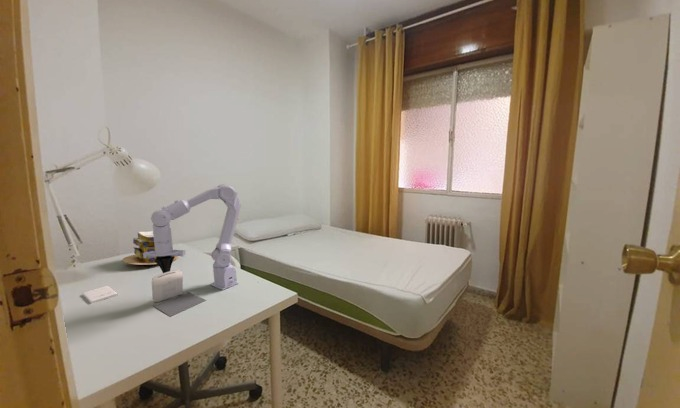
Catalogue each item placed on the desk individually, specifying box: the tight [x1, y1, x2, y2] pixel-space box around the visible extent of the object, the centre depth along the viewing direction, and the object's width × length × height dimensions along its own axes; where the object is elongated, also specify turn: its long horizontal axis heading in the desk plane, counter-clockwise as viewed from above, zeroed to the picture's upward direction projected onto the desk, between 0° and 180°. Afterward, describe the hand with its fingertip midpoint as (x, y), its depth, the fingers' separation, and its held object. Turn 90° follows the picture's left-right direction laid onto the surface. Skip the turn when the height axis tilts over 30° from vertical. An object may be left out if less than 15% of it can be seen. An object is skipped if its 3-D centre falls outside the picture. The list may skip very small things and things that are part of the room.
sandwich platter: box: [122, 230, 179, 266], centre depth 145 cm, size 25×25×17 cm
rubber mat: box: [152, 291, 207, 318], centre depth 100 cm, size 13×13×1 cm
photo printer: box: [151, 269, 184, 303], centre depth 102 cm, size 10×4×12 cm, turn 134°
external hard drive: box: [82, 285, 118, 305], centre depth 107 cm, size 2×8×12 cm
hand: (166, 274), depth 103 cm, fingers closed
